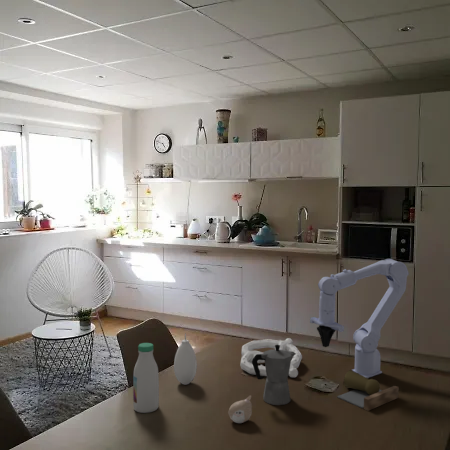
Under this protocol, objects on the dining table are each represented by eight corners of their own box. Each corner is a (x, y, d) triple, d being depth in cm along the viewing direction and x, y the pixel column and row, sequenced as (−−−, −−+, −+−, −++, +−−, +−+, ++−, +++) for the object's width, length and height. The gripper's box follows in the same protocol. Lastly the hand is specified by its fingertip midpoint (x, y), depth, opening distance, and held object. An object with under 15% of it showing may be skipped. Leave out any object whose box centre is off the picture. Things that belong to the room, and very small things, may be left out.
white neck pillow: (305, 383, 172) (305, 366, 171) (240, 383, 174) (239, 367, 172) (299, 348, 199) (299, 333, 198) (242, 348, 201) (242, 334, 200)
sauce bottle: (170, 386, 165) (170, 334, 164) (180, 378, 172) (180, 328, 171) (190, 389, 162) (190, 337, 161) (200, 381, 169) (200, 331, 168)
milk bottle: (162, 404, 150) (162, 342, 149) (151, 415, 143) (151, 349, 142) (141, 401, 153) (140, 339, 152) (128, 411, 146) (128, 347, 144)
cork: (355, 383, 167) (383, 393, 158) (344, 390, 163) (372, 401, 155) (354, 367, 166) (381, 376, 157) (343, 373, 162) (371, 384, 154)
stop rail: (393, 396, 158) (394, 385, 158) (398, 397, 157) (398, 387, 156) (363, 408, 148) (363, 397, 148) (368, 410, 147) (368, 399, 147)
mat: (367, 385, 166) (367, 384, 166) (392, 395, 158) (392, 394, 158) (337, 397, 157) (337, 396, 157) (362, 408, 149) (362, 407, 149)
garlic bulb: (243, 429, 135) (244, 401, 135) (224, 423, 139) (224, 396, 138) (255, 419, 141) (255, 393, 140) (236, 414, 144) (236, 388, 144)
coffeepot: (288, 390, 162) (288, 338, 160) (302, 402, 153) (302, 347, 152) (246, 397, 156) (246, 343, 155) (257, 409, 147) (258, 352, 146)
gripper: (304, 307, 179) (303, 342, 180) (335, 315, 167) (333, 353, 168) (317, 305, 183) (316, 339, 184) (348, 313, 172) (346, 350, 172)
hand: (325, 346), depth 176 cm, fingers closed
